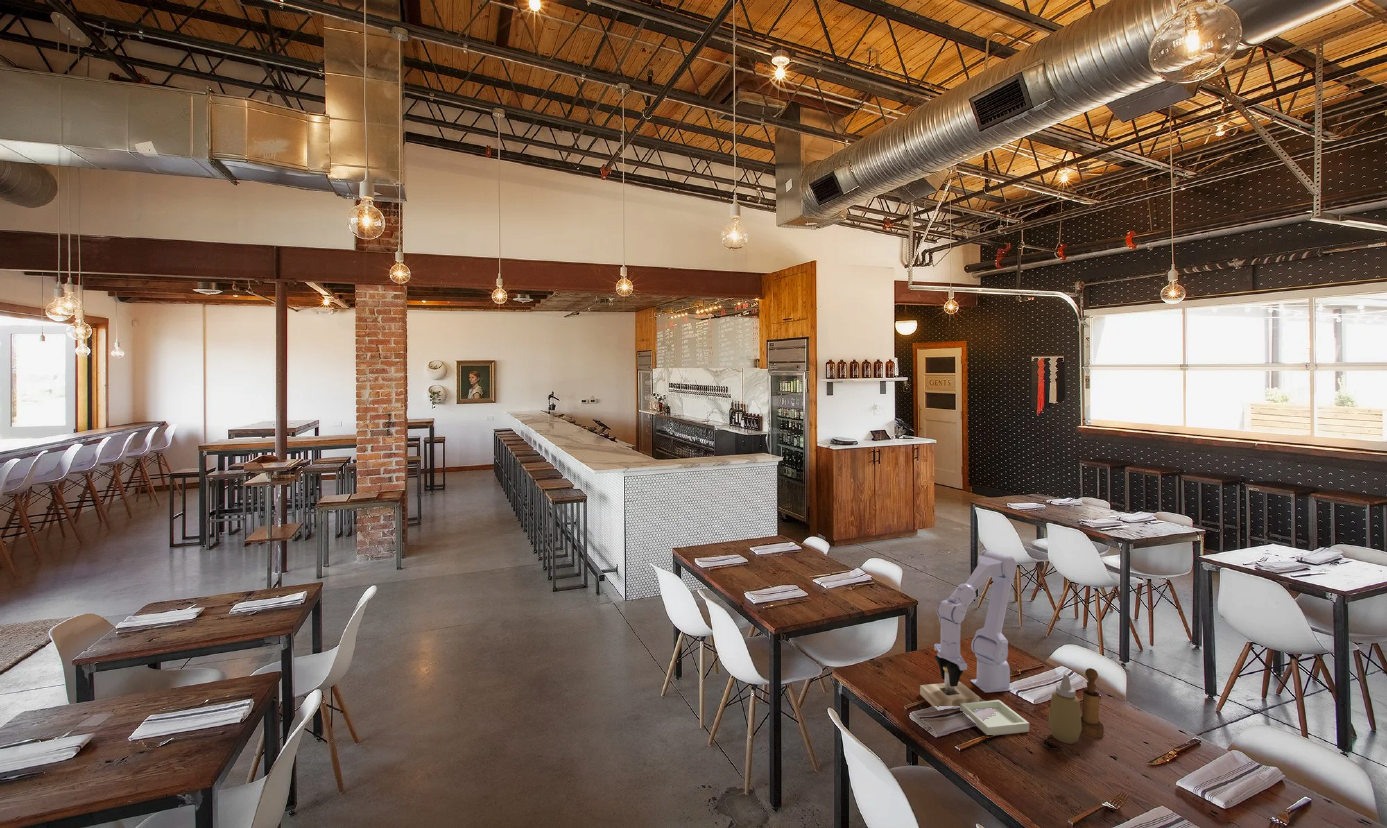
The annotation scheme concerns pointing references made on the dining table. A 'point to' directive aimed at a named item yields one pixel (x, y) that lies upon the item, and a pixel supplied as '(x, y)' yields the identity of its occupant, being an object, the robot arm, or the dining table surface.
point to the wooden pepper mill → (1091, 707)
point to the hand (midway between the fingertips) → (949, 682)
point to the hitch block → (939, 698)
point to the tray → (996, 718)
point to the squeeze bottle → (1065, 713)
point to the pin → (948, 683)
